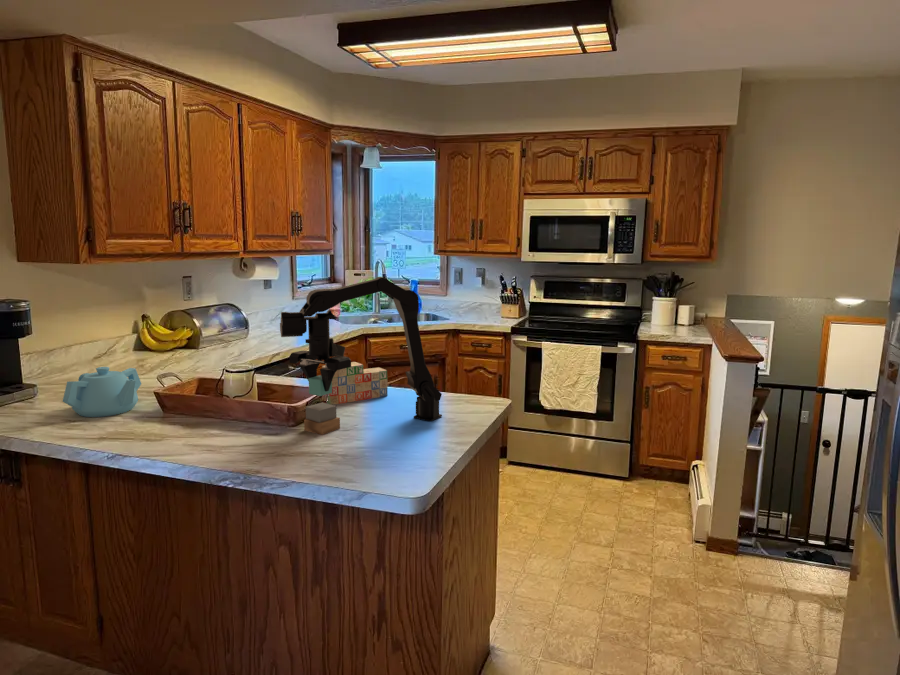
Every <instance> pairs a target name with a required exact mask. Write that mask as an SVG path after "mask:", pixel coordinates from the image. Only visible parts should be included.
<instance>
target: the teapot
mask: <svg viewBox="0 0 900 675" xmlns="http://www.w3.org/2000/svg"><path fill="white" fill-rule="evenodd" d="M95 370H96V372H91V373H89V372H86V373H82V374H80V375H79V377H78V381H77V380H76V381H67V382H66V384H65V389H64V394H63V398H62V402H63V403H64V404H67V405H68V406H70V407H71V409H72V411H74V412H75V413H76V414H77V415H79V416H81V417H85V418H103V417H104V418H105V417H111V416H116V414H117V415H120V413H121V414H124V412H125V413H127V411H128V412H129V410H130V411H131V410H133V409H134V408H135V407H136V405H137V403H138V401H139V395H138V392H137V391H138V389H139V388H140V387H141V386H142V381H141V379H140V377H139V374H138V371H137V368H134V367H129V368H127V369H125V370H122V371H118V370H110V367H109V366H99V367H97V368H95ZM132 408H133V409H132Z"/></svg>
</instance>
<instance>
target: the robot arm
mask: <svg viewBox="0 0 900 675" xmlns="http://www.w3.org/2000/svg"><path fill="white" fill-rule="evenodd" d="M377 293H382V294H384V295H385V296H386V297H388V298H389V299H392V300H393V303H394V305H395V309H396V311H397V313H398V315H399V317H400V319H401V321H402V325H403V331H404V336H405V342H406V347H407V352H408V357H409V363H410V369H409V371H405V375H406V378H407V383H406V384H407V385H408V386H410V387H409V388H410V389H411V390H413V391H414V392H415V394H416V395H417V396H416V401H415V415H414V416H413V419H418V420H423V421H426V422H427V421H428V422H433V421H435V420H437V419H439V418H442V417H443V415H442V413H441V414H440V401H441V398H442V392H441V391H440V390H438V388H436V387H435V382H434V380H433V377H432V375H431V372H430V370H429V368H428V366H427V364H426V360H425V356H424V354H425V353H424V349H423V344H422V338H421V333H420V328H419V322H418V315H419V310H420V308H419V307H420V306H419V305H420V304H419V300H420V299H419V295H418V294H417V292H415V291H414V290H412V289H408V288H404V287H401V286H399V285H397V284H395V283H394V282H392V281H391V280H389V279H388V278H387V277H383V276H376V278H372V279H369V280H365V281H361V282H356V283H353V284H349V285H346V286H341V287H337V288H336V287H335V288H320V289H313V290H311V291H309V292H308V294H307V295H306V299H305V300H306V302H305V303H304V305H303V306H302V307H301V309H300V310H299V311H298V312H297V311H295V312H289V311H280V323H279V330H280V333H279V334H280V337H281V338H288V337H289V338H290V337H291V338H294V337H303V336H304V334H306V333H307V330H308V338H307V339H305V344H308V350H299V351H294V352H291V353H290V355H289V359H288V360H289V363H290V364H298V363H299V364H298V366H297V367H299V368H300V370H301V371H302V372H303V374H304V376H305V377H306V379H307V381H308V382H309V378H312V377H316V376H318V373H317V372H318V368H319V366H320V364H321V365H323V364H324V366H325V365H326V366H325V368H322V367H321V368H320V369H319V371H320V375H321V376H322V381H323V386H324V389H325V391H329V388H330V385H331V382H332V379H333V377H334V374H335V372H336V371H337V370H341V369H345V368H349V367H351V362H352V359H351V358H350V357H349V356H344V355H345V351H346V346H343V345H341V344H337V343H334V339H333V337H330V336H331V335H330V334H331V332H330V320H336V319H337V316H336V315H335V314H334V313H333V312H332V310H330V309H331V308H334V307H336V306H338V305H339V304H341V303H344V302H346V301H351V300H354V299H357V298H363V297H365V296H369V295H373V294H377ZM307 325H308V326H307ZM307 328H308V329H307Z"/></svg>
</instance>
